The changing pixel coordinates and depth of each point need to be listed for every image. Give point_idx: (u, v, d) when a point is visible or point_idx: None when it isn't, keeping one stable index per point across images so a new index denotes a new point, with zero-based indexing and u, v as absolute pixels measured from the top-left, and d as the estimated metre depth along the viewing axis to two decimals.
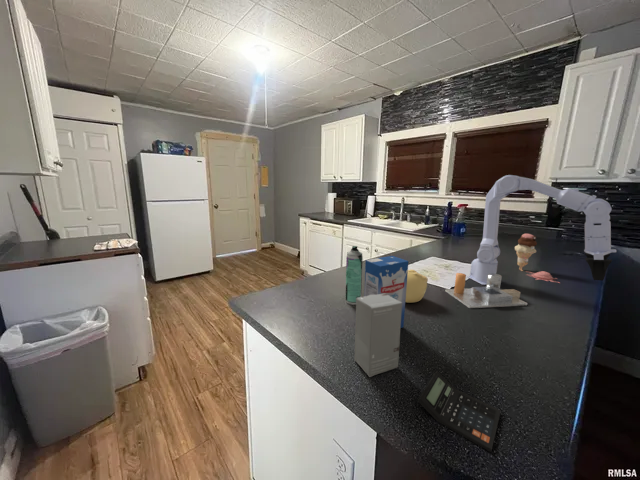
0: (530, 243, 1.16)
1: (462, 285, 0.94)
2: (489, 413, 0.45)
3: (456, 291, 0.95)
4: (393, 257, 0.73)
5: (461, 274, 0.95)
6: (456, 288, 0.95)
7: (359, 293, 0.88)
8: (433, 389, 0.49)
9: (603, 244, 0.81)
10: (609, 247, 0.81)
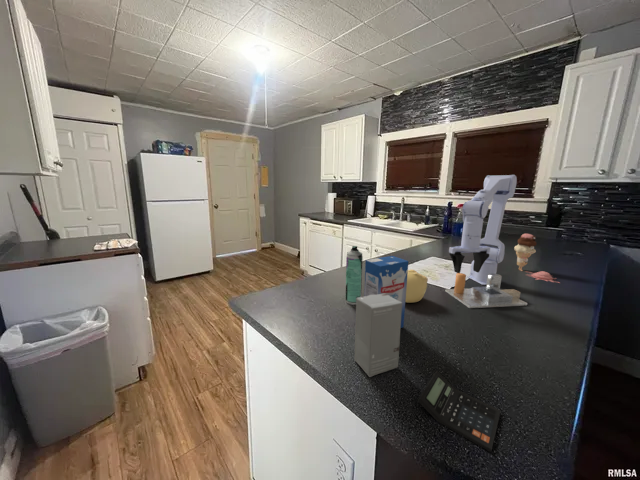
0: (530, 243, 1.16)
1: (462, 285, 0.94)
2: (489, 413, 0.45)
3: (456, 291, 0.95)
4: (393, 257, 0.73)
5: (461, 274, 0.95)
6: (456, 288, 0.95)
7: (359, 293, 0.88)
8: (433, 388, 0.49)
9: (466, 242, 0.89)
10: (472, 246, 0.88)
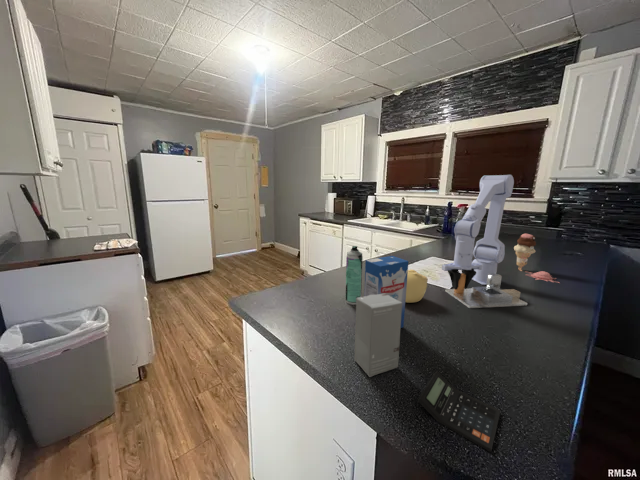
0: (529, 243, 1.16)
1: (462, 285, 0.94)
2: (489, 413, 0.45)
3: (456, 291, 0.95)
4: (393, 257, 0.73)
5: (461, 274, 0.95)
6: None
7: (359, 293, 0.88)
8: (433, 388, 0.49)
9: (458, 260, 0.92)
10: (463, 264, 0.91)
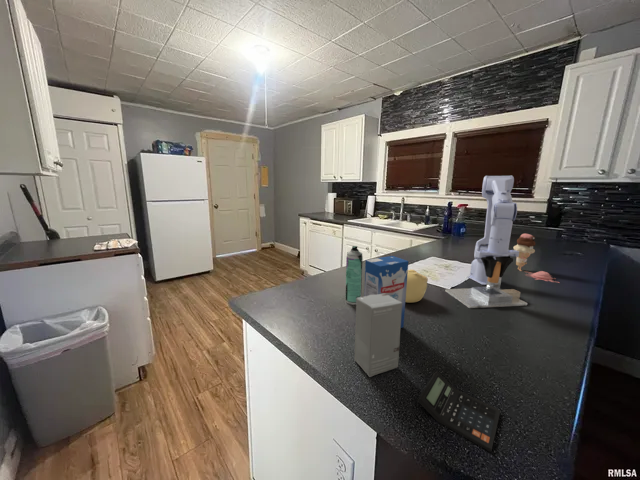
0: (529, 243, 1.16)
1: (497, 274, 0.88)
2: (489, 413, 0.45)
3: (491, 280, 0.89)
4: (393, 257, 0.73)
5: None
6: None
7: (359, 293, 0.88)
8: (433, 389, 0.49)
9: (494, 246, 0.86)
10: (500, 250, 0.85)
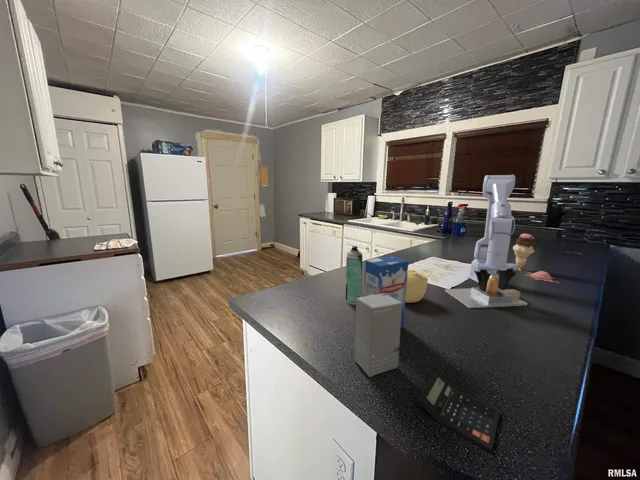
0: (529, 243, 1.16)
1: (495, 291, 0.89)
2: (489, 413, 0.45)
3: None
4: (393, 257, 0.73)
5: (493, 279, 0.90)
6: None
7: (359, 293, 0.88)
8: (433, 389, 0.49)
9: (492, 260, 0.87)
10: (498, 264, 0.86)
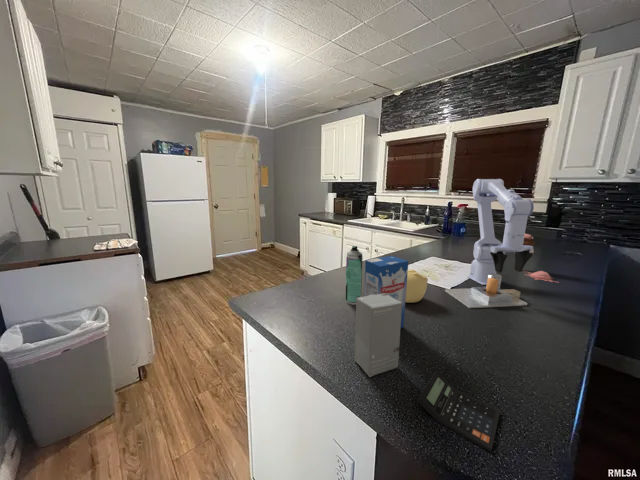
0: (528, 243, 1.17)
1: (495, 291, 0.89)
2: (489, 413, 0.45)
3: None
4: (393, 257, 0.73)
5: (493, 279, 0.90)
6: None
7: (359, 293, 0.88)
8: (433, 389, 0.49)
9: (509, 241, 0.88)
10: (515, 245, 0.87)
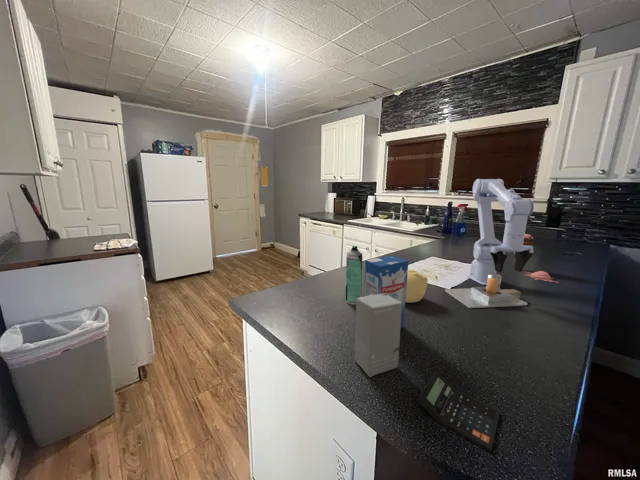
0: (528, 243, 1.17)
1: (495, 291, 0.89)
2: (489, 413, 0.45)
3: None
4: (393, 257, 0.73)
5: (493, 279, 0.90)
6: None
7: (359, 293, 0.88)
8: (433, 389, 0.49)
9: (509, 241, 0.88)
10: (515, 245, 0.87)
